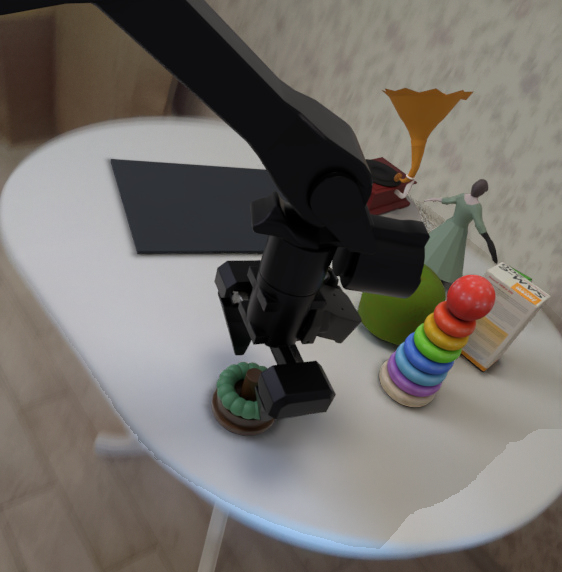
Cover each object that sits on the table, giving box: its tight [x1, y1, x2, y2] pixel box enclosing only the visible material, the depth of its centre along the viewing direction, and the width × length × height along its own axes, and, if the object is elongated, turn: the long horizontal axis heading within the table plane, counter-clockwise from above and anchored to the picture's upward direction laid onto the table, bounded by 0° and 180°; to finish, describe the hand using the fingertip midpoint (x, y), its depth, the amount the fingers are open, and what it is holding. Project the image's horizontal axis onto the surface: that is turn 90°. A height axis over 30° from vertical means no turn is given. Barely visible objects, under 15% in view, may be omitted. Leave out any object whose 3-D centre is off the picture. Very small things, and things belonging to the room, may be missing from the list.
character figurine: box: [423, 178, 499, 283], centre depth 81 cm, size 16×8×18 cm, turn 42°
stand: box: [210, 368, 276, 436], centre depth 57 cm, size 8×8×6 cm
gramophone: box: [365, 87, 474, 222], centre depth 88 cm, size 20×20×25 cm
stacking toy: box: [378, 274, 496, 408], centre depth 62 cm, size 8×8×19 cm
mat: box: [110, 158, 289, 255], centre depth 85 cm, size 32×24×1 cm
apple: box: [357, 264, 447, 346], centre depth 72 cm, size 11×11×11 cm
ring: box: [215, 361, 269, 420], centre depth 57 cm, size 8×8×2 cm
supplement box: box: [460, 261, 552, 372], centre depth 73 cm, size 8×5×13 cm, turn 43°
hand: (251, 385), depth 56 cm, fingers open, 9 cm apart
